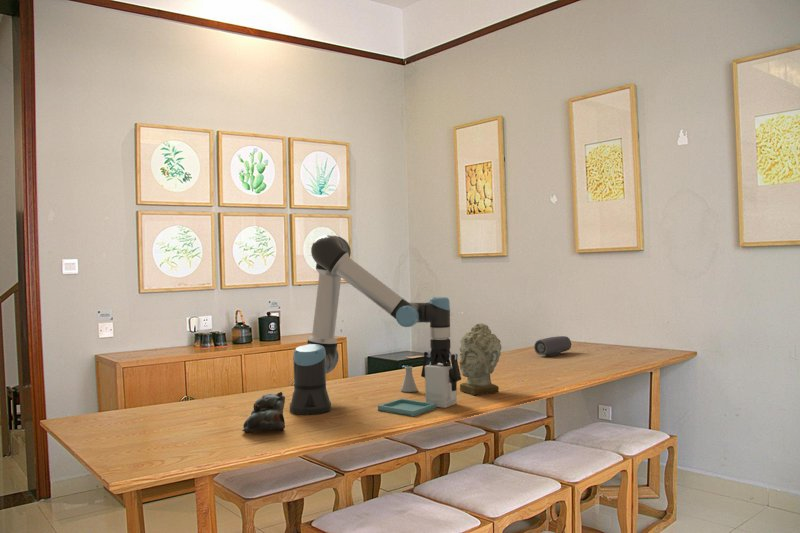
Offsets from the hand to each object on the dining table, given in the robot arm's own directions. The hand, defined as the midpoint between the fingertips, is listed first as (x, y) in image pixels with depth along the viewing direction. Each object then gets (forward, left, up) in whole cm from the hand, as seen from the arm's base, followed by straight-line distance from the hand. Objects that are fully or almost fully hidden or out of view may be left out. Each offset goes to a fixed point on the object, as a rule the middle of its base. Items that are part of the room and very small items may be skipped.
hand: (441, 397), depth 244 cm
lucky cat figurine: (-62, +27, -3) cm, 68 cm away
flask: (+13, +25, -3) cm, 28 cm away
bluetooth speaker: (+133, +16, -3) cm, 134 cm away
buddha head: (+28, 0, -3) cm, 28 cm away
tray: (-13, +6, -3) cm, 15 cm away
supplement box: (0, 0, -3) cm, 3 cm away
